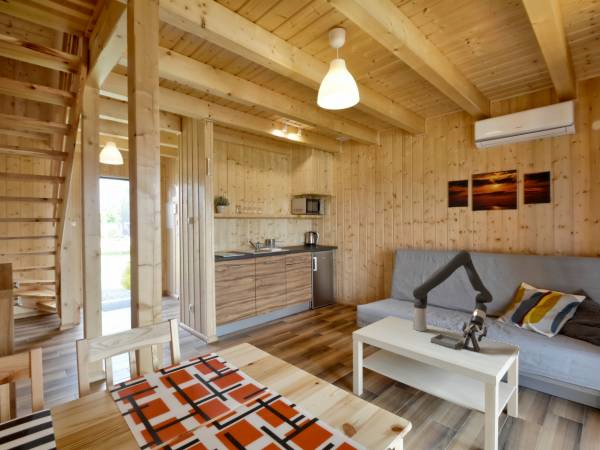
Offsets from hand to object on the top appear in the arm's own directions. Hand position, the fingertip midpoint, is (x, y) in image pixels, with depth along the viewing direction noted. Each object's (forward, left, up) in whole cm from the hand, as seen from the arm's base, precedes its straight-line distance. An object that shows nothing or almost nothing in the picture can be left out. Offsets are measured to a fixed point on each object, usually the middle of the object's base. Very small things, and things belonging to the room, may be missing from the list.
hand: (471, 339), depth 203 cm
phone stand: (0, -1, -7) cm, 7 cm away
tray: (-15, -2, -6) cm, 17 cm away
